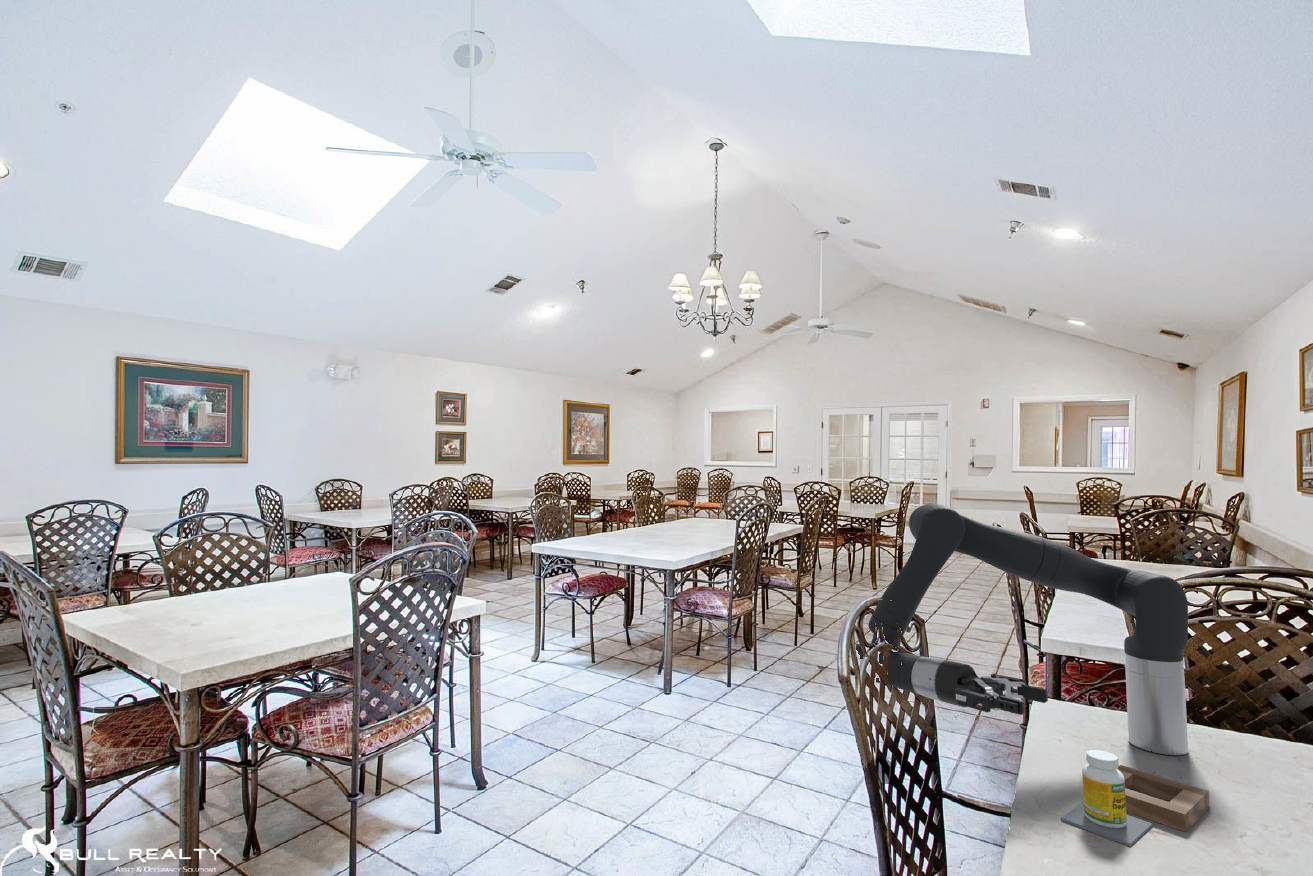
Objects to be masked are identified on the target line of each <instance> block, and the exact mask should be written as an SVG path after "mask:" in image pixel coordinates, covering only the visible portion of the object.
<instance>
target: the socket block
mask: <svg viewBox="0 0 1313 876" xmlns="http://www.w3.org/2000/svg"><path fill="white" fill-rule="evenodd" d="M1117 769H1118V770H1119V771H1120V772H1121V773H1122V774H1123V776H1124V779H1125V796H1126V813H1130V814H1133V815H1134V816H1135V815H1136V816H1138V817H1141V818H1145V819H1147V820H1150V821H1153V822H1156V823H1159V824H1162V825H1165V826H1167V827H1171V828H1174V829H1176V830H1180V831H1182V832H1185V833H1186V832H1187V831H1188V830H1190V828H1191V827H1192V826H1193V825H1195V824H1196V822H1197V821H1198V820H1200V818H1202V816H1203V815H1204V814H1205V813H1206V812H1207V810H1208V809H1209V808H1211V807H1210V806H1211V803H1210V791H1209V790H1207V789H1204V788H1200V787H1197V786H1194V785H1190V784H1187V783H1184V782H1180V781H1178V780H1174V779H1170V778H1166V777H1164V776H1160V775H1157V774H1152V773H1150V772H1146V771H1143V770H1139V769H1136V768H1133V767H1130V766H1126V765H1123V764H1120V765H1119V766H1118V768H1117ZM1192 824H1193V825H1192Z"/></svg>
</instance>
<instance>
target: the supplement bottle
mask: <svg viewBox="0 0 1313 876" xmlns="http://www.w3.org/2000/svg"><path fill="white" fill-rule="evenodd" d="M1085 759H1086V760H1085V761H1086V762H1087V763H1086V764H1084V766H1083V767H1082V769H1081V770H1082V771H1081V773H1082V775H1081V776H1082V791H1083V793H1082V794H1083V801H1084V813H1085V815H1086V817H1087V818H1088V819H1089V820H1090V821H1092V822H1093V823H1095V824H1098V825H1100V826H1104V827H1108V828H1122V827H1124V826H1126V824H1127V816H1126V815H1127V812H1126V796H1125V779H1124V776H1123V774H1122V773H1121V772H1120V771H1119V770H1118V769H1117V768H1118V766H1120V765H1119V757H1118V756H1117V755H1116V754H1114V753H1111V752H1108V751H1105V750H1098V749H1092V750H1091V749H1090V750H1087V751H1086V757H1085Z"/></svg>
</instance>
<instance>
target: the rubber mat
mask: <svg viewBox="0 0 1313 876" xmlns="http://www.w3.org/2000/svg"><path fill="white" fill-rule="evenodd" d="M1126 816H1127V824H1126V826H1124V827H1122V828H1108V827H1104V826H1100V825H1098V824H1095V823H1093V822H1092V821H1090V820H1089V819H1088V818H1087V817H1086V815H1085V813H1084V800H1083V801H1082V802H1080V803H1079V804H1077V805H1076V806H1075V807H1074V808H1072V809H1070V810H1069V811H1068V812H1067V813H1065V814H1064V815H1062V816H1061V817H1060V822H1065V823H1067V824H1070V825H1072V826H1075V827H1078V828H1081V829H1083V830H1086V831H1088V832H1091V833H1093V834H1096V835H1099V836H1101V837H1104V838H1107V839H1109V840H1112V841H1115V842H1117V843H1119V842H1120V844H1122V843H1123V845H1125V846H1127V847H1129V848H1130V847H1132V846H1134V844H1135V843H1136V842H1137V841H1138V840H1139V839H1140V838H1142V836H1144V835H1145V834H1146V833H1147V832H1148V831H1149V830H1151V828H1153V823H1152V822H1149V821H1147V820H1144V819H1141V818H1138V817H1135V816H1132V815H1129V814H1126Z"/></svg>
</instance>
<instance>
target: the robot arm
mask: <svg viewBox="0 0 1313 876" xmlns="http://www.w3.org/2000/svg"><path fill="white" fill-rule="evenodd" d="M908 528H909V531H910V533H911V535H912V536H913V538H914V539H915V542H914V544H913V548H912V551H911V553H910V555H909V557H908V559H907V561H906V563H905V564H904V565H903V567H902V569H900V571H899V573H897V575H896V576H895V577H894V579H893V580H892V581H891V582H890V584H889V585H888V586H887V587H886V589H885V590H884V592H883V593H882V595H881V597H880V599H883V600H880V599H879V601H878V602H877V605H876V606H875V608H874V611H873V612H872V615H871V616H870V618H869V621H868V629H869V631H870V632H871V633H872V634H873V636H872V640H871V642H870V644H869V645H870V646H871V644H873V643H875V641H876V640H877V632H876V631H875V626H876V627H877V630H878V629H879V627H880V629H881V623H882V627H883V634H884V636H885V640H886V641H887V642H888V643H889V644H892V645H894V646H893V647H894V648H895V646H900V647H901V644H902V643H901V642H902V639H901V640H900V638H899V636H898V632H897V629H899V628H898V625H899V627H900V628H901V631H902V635H903V636H904V635H905V633H906V631H907V629H908V626H909V625H910V623H911V622H912V619H913V617H914V615H915V614H916V611H917V609H918V608H919V605H920V604H921V601H922V600H923V598H924V596H925V594H926V593H927V591H928V590H929V588H930V586H932V585H931V584H932V583H933V582H934V580H935V579H936V577H937V575H938V574H939V573H940V571H941V570H942V568H944V566H945V564H946V563H947V562H948V560H949V559H950V558H951V557H952V555H953V554H954V553H955V552H956V553H960V554H963V555H967V556H970V557H972V558H976V559H978V560H979V561H982V562H983V563H986V564H988V565H990V566H991V567H994V568H996V569H998V570H1000V571H1003V572H1005V573H1007V574H1010V575H1011V576H1014V577H1017V578H1019V579H1022V580H1026V581H1027V582H1031V583H1034V584H1038V585H1039V586H1044V587H1047V588H1051V589H1054V590H1060V591H1064V592H1070V593H1077V594H1081V595H1086V596H1088V597H1092V598H1094V599H1096V600H1099V601H1101V602H1104V603H1106V604H1108V605H1111V606H1113V607H1116V608H1117V609H1119V610H1121V611H1123V612H1125V613H1127V614H1129V615H1132V616H1133V617H1134V623H1135V624H1134V633H1133V634H1132V635H1129V636H1127V637H1125V639H1124V641H1123V648H1124V664H1125V665H1124V669H1125V686H1126V687H1125V688H1126V689H1125V690H1126V711H1127V732H1128V733H1127V734H1128V735H1127V736H1128V738H1127V739H1128V742H1129V743H1130V744H1132V745H1133V746H1135V747H1136V748H1139V749H1141V750H1145V751H1147V752H1151V751H1152V752H1151V753H1155V754H1159V755H1169V756H1184V755H1186V754H1188V753H1189V741H1188V739H1189V738H1188V724H1187V722H1188V721H1187V720H1188V718H1187V701H1186V699H1187V698H1186V684H1185V683H1186V682H1185V681H1186V679H1185V664H1184V663H1185V662H1184V651H1185V649H1186V647H1187V645H1188V642H1189V641H1188V639H1189V605H1188V604H1189V603H1188V599H1187V594H1186V592H1185V590H1184V588H1183V586H1182V584H1180V583H1179V582H1178V581H1177V580H1176V579H1174V578H1172V577H1170V576H1166V575H1163V574H1160V573H1159V574H1158V573H1153V572H1149V571H1144V570H1139V569H1132V568H1127V567H1123V566H1117V565H1114V564H1109V563H1104V562H1101V561H1098V560H1097V559H1096V560H1095V559H1093V558H1091V557H1089V556H1087V555H1085V554H1083V553H1081V552H1080V551H1078V550H1076V549H1074V548H1071V547H1070V546H1067V545H1064V544H1062V543H1060V542H1057V541H1054V540H1052V539H1048V538H1044V537H1041V536H1039V535H1035V534H1031V533H1029V532H1028V533H1027V532H1024V531H1020V530H1015V529H1012V528H1011V529H1010V528H1008V527H1002V526H1001V527H1000V526H996V525H991V524H987V523H984V522H980V521H979V520H978V521H977V520H975V519H973V518H969V517H967V516H964V515H963V514H960V513H959V512H957V511H956V510H955V509H953V508H951V507H948V506H945V505H943V504H938V503H927V504H924V505H920V506H918V507H917V508H916V509H914V510H913V511H912V512H911V514H910V516H909V519H908ZM890 600H892V601H890ZM874 620H875V622H874ZM875 623H876V625H875ZM897 623H898V625H897ZM896 626H897V627H896ZM855 644H856V650H857V651H858V654H859V655H860V659H863V655H862V653H863V652H862V649H861V645H860V644H858V643H855ZM897 648H898V647H897ZM889 652H890V656H889V657H888V665H887V666H888V667H887V669H888V682H889V684H890V685H889V686H891V685H893V686H892V687H894V688H896V689H900V690H902V691H906V692H910V693H913V694H916V695H921V696H923V697H926V698H927V699H931V700H934V701H938V702H942V703H945V704H950V705H952V706H958V707H960V708H961V707H962V708H970V709H974V710H977V711H981V712H984V713H991V710H993V711H995V712H998V711H1003V712H1006V713H1007V712H1008V713H1011V714H1016V715H1019V716H1022V715H1024V714H1025V713H1026V708H1025V706H1026V705H1025V702H1024V701H1023V700H1022V699H1024V700H1025V699H1026V700H1029V701H1034V702H1038V703H1042V704H1045V703H1047V702H1048V701H1049V700H1048V699H1049V696H1048V695H1049V694H1048V690H1047V689H1045V688H1041V687H1038V686H1037V687H1035V686H1031V685H1027V684H1026V679H1023V678H1018V677H1013V676H1008V675H1007V676H1006V675H1002V674H996V673H991V674H990V676H989V675H982V676H980V677H979V676H978V675H977V674H976V671H975V669H974V668H973V667H972V666H971V665H969V664H966V663H962V662H957V661H953V660H952V661H951V660H948V659H942V658H938V657H929V656H928V657H927V656H921V655H917V654H913V653H907V652H900V651H899V652H893V651H889ZM901 662H902V665H901ZM879 663H880V664H883V653H880V654H879ZM875 683H877V684H881V683H880V681H879V678H876V682H875ZM1014 687H1017V688H1014ZM1187 752H1188V753H1187Z"/></svg>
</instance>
